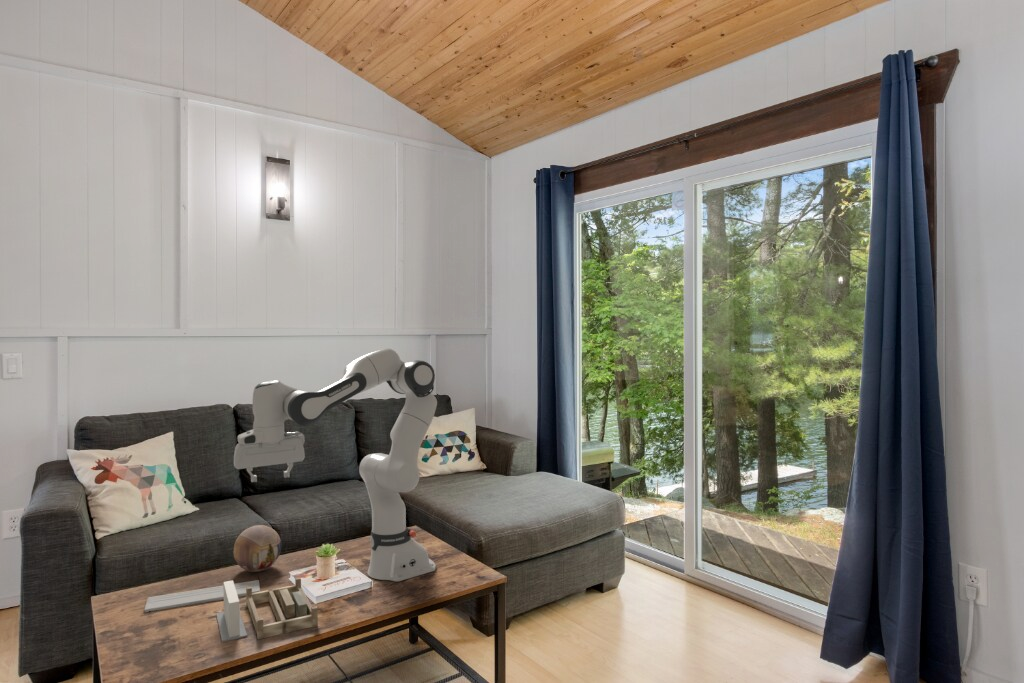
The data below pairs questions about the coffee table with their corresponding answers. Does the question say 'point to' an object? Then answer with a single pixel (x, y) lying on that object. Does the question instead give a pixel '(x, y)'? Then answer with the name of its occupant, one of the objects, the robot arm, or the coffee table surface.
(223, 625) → the mat
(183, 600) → the baseboard molding
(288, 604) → the offcuts
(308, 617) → the rack
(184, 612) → the coffee table surface
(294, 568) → the coffee table surface
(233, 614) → the cream rectangular board
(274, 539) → the ornament
